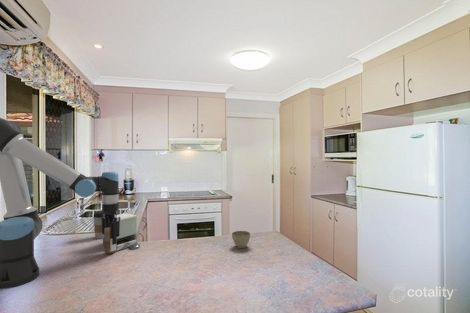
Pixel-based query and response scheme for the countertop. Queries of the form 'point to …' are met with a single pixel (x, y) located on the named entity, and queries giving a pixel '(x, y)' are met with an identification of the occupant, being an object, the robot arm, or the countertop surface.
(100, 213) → the coffee cup
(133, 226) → the pale green box
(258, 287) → the countertop surface
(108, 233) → the brown angled piece
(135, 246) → the token
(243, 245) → the flower pot
